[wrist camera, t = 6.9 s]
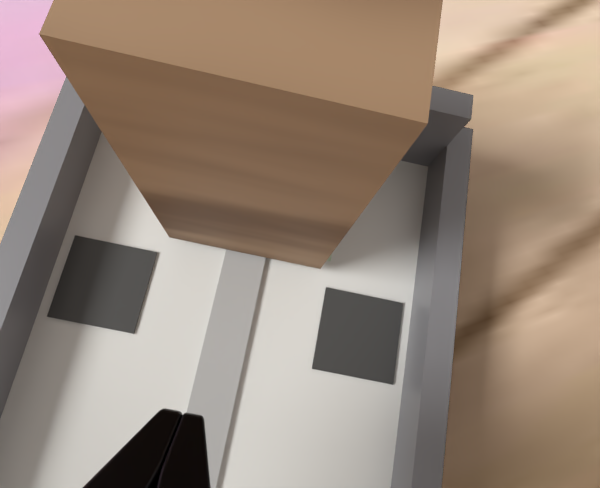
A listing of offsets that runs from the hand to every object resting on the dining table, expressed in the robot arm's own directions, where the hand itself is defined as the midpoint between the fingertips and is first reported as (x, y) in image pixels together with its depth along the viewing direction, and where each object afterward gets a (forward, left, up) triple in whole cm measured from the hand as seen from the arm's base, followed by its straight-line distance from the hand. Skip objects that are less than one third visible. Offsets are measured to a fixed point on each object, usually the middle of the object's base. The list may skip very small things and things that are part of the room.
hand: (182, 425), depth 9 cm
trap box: (+2, -1, -9) cm, 9 cm away
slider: (+7, -4, -7) cm, 11 cm away
